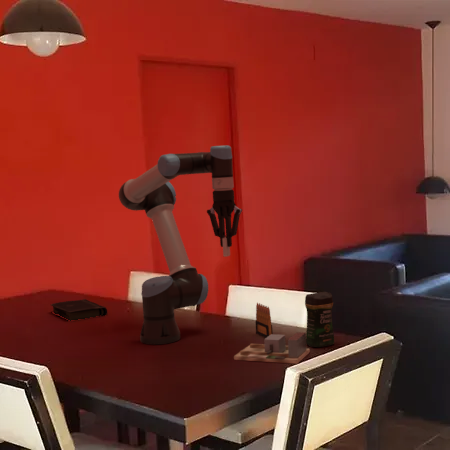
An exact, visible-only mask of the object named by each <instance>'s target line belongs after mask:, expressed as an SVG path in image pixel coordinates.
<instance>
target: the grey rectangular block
mask: <svg viewBox="0 0 450 450" xmlns="http://www.w3.org/2000/svg"><path fill="white" fill-rule="evenodd" d="M263 341H264V342H263V343H264V346H265V352H267V355H269V354H270V353H272V352H275V353H282V352H283V351H285V350H286V346H287V345H286V344H287V343H286V334H274V333H273V334H271V335H270V336H268V337H267V338H265V337H264V339H263Z"/></svg>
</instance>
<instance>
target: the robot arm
mask: <svg viewBox="0 0 450 450" xmlns="http://www.w3.org/2000/svg"><path fill="white" fill-rule="evenodd" d="M233 163H234V162H233V153H232V147H231V146H230V145H214V146H213V145H212V146H210V150H209V151H207V152H206V151H201V152H200V151H199V152H184V153H165V154H162V155H160V157H159V158H158V160H157V163H156V164H155V165H154V166H152V167H151V168H150V169H148V170H146V171H145V172H144V173H142V174H141V175H138V177H136V178H130V179H128V180H126V181H125V182H124V183H123V184H122V185H121V186H120V188H119V190H118V200H119V202H120V203H121V205H122V206H124V208H126V209H128V210H131V211H135V212H137V211H144V212H145V216H146V217H147V218H149V219H151V220H152V223H153V226H154V229H155V232H156V234H157V238H158V242H159V244H160V247H161V250H162V253H163V256H164V258H165V262H166V265H167V268H168V271H169V275H160V276H155V277H151V278H148V279H145V280H144V282H143V283H142V284H141V293H140V294H141V301H142V312H143V313H142V314H143V315H142V316H143V323H142V326H141V329H140V330H141V331H140V334H139V338H140V339H139V340H140V342H141V343H142V344H145V345H166V344H171V343H174V342H177V341H179V340H180V339H181V331H180V329H179V327H178V323H177V322H176V321H177V320H176V318H175V310H178V309H183V308H184V309H185V308H188V307H195V306H198V305H201V304H203V303H204V302H205V301H206V300H207V298H208V293H209V283H208V279H207V277H206V276H205V275H204V274H202V273H198V270H197V267H196V266H193V265H191V261H190V259H189V256H188V254H187V250H186V247H185V245H184V242H183V239H182V237H181V232H180V230H179V228H178V225H177V222H176V219H175V216H174V213H173V210H174V209H175V204H176V202H177V198H176V197H177V193H176V190H175V187H174V186H173V184H172V183H171V182H170V181H172V180H174V179H175V178H177V177H178V176H183V175H184V176H185V175H186V176H187V175H197V174H198V175H199V174H201V175H202V174H211V182H212V183H211V187H212V200H213V204H212V206H211V208H209V209H207V210H206V213H207V214H208V216H209V220H210V223H211V227H212V230H213V233H214V236H215V237H219V242H220V243H219V245H220V247H221V248H222V254H223V255H222V256H223V257H230V256H231V249H230V248H231V247H232V246H233V239H232V238H233V237H234V236H237V234H238V233H237V232H238V228H239V227H238V226H239V222H240V216H241V214H242V212H243V209H242V208H239V207H238V206H237V205H236V202H235V190H234V189H233V188H235V185H234V183H235V182H234V170H233V169H234V168H233V167H234V166H233ZM233 212H234V214H233ZM215 213H216V214H217V215H216V214H215ZM232 214H233V218H232Z"/></svg>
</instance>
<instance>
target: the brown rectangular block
mask: <svg viewBox="0 0 450 450" xmlns="http://www.w3.org/2000/svg"><path fill="white" fill-rule="evenodd" d="M287 346H288V354H289V358H298V357H300V356H301V355H302V354H303V353H304V352H305V351H306V349H307V344H306V332H301V331H300V332H299V331H298V332H296V333H294V334H293V335H292V336H291V337H289V338H288V339H287Z"/></svg>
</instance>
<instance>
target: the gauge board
mask: <svg viewBox="0 0 450 450" xmlns="http://www.w3.org/2000/svg"><path fill="white" fill-rule="evenodd" d="M310 352H311V349H310V348H306V351H305V352H304V353H303V354H302V355H301V356H300V357H298V358H289V354H288V345H286V350H285V351H283V352H282V353H275V352H272V353H270V354H269V355H267V352H265V346H264V344H263V343H249V345H247V346H246V347H244V348H243V349H241V350H240V351H239V352H237V353H236V354H234V356H233V359H234V361H235V360H236V361H249V362H250V361H251V362H263V363H264V362H267V363H280V364H281V363H282V364H295V365H297V364H299V363H300V362H301V361H302V360H303V359H304V358H305V357H307V355H309V353H310Z"/></svg>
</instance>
